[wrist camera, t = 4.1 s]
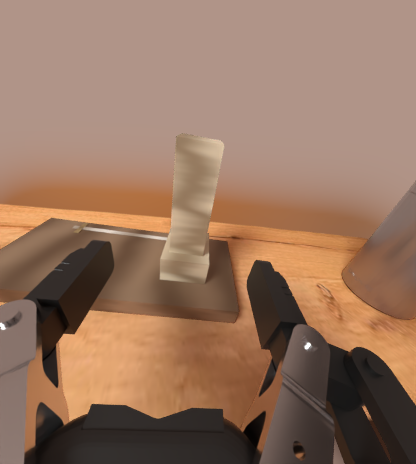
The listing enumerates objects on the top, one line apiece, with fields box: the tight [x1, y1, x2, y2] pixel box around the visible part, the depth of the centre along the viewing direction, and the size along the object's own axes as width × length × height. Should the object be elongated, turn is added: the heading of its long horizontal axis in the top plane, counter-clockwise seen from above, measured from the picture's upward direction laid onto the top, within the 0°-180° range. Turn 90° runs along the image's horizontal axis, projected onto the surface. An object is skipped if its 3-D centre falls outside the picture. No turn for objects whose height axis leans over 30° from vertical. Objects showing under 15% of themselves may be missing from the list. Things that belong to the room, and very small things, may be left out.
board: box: [0, 218, 239, 323], centre depth 22 cm, size 26×12×2 cm, turn 90°
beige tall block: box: [160, 134, 224, 284], centre depth 18 cm, size 5×7×14 cm
